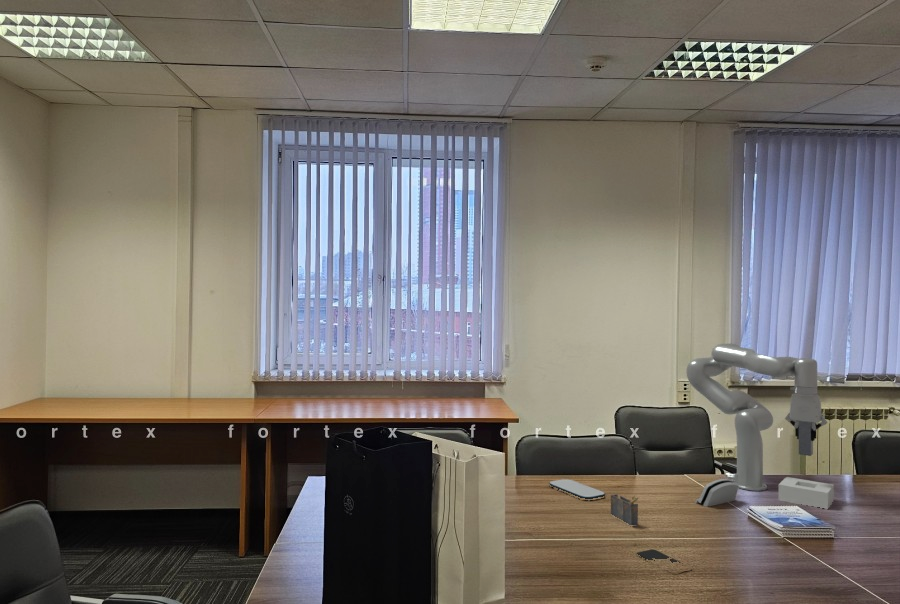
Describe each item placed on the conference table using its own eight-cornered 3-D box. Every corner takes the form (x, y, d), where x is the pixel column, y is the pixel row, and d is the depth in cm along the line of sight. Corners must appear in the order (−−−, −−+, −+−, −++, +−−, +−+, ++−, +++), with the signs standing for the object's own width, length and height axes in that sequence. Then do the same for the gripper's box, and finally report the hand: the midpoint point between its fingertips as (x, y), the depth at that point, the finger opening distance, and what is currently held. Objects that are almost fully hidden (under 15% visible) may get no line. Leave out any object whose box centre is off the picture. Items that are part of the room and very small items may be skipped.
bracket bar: (798, 454, 229) (798, 417, 229) (800, 452, 232) (800, 415, 232) (810, 456, 226) (810, 418, 226) (812, 454, 229) (812, 417, 229)
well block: (778, 500, 229) (778, 484, 229) (786, 492, 240) (786, 476, 240) (827, 509, 219) (827, 492, 219) (833, 500, 229) (833, 484, 229)
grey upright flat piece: (638, 527, 201) (638, 497, 201) (631, 528, 200) (631, 498, 200) (618, 516, 211) (618, 488, 211) (610, 516, 210) (611, 488, 210)
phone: (674, 573, 163) (634, 552, 177) (674, 576, 163) (634, 555, 177) (694, 568, 166) (653, 548, 180) (694, 571, 166) (653, 551, 180)
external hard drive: (545, 486, 245) (545, 482, 245) (567, 483, 251) (567, 478, 251) (585, 503, 225) (585, 498, 225) (608, 498, 230) (608, 493, 230)
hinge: (723, 496, 233) (731, 474, 230) (733, 504, 229) (742, 481, 226) (694, 503, 225) (702, 480, 222) (704, 511, 221) (712, 487, 218)
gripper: (779, 390, 232) (778, 437, 232) (829, 394, 221) (829, 444, 221) (783, 388, 238) (783, 434, 238) (833, 392, 227) (833, 441, 227)
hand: (805, 439), depth 229 cm, fingers closed on bracket bar, 4 cm apart
